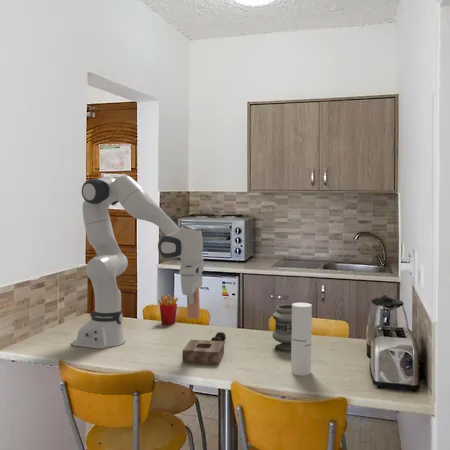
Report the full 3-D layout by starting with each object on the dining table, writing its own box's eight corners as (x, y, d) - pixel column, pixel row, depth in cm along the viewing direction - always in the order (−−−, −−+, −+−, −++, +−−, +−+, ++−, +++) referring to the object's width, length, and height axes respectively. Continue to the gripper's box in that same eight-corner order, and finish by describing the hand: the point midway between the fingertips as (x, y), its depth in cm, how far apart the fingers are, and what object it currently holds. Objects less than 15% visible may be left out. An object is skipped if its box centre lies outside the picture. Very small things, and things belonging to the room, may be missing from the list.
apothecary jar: (266, 348, 208) (266, 306, 207) (283, 342, 217) (284, 301, 215) (290, 355, 200) (290, 311, 198) (306, 348, 208) (307, 306, 207)
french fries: (165, 321, 250) (165, 292, 249) (180, 323, 247) (180, 293, 246) (156, 325, 242) (156, 295, 241) (171, 327, 239) (171, 297, 238)
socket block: (182, 363, 189) (182, 350, 189) (190, 351, 203) (190, 339, 203) (218, 365, 187) (218, 352, 187) (224, 353, 201) (224, 341, 201)
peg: (187, 318, 193) (186, 288, 192) (190, 316, 197) (189, 286, 196) (197, 318, 192) (196, 288, 191) (199, 316, 196) (198, 286, 195)
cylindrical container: (289, 368, 184) (290, 302, 182) (307, 368, 184) (309, 302, 183) (293, 375, 177) (294, 307, 175) (312, 375, 177) (314, 306, 176)
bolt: (223, 343, 221) (217, 353, 206) (214, 337, 221) (207, 346, 207) (230, 332, 220) (224, 341, 205) (220, 326, 221) (213, 335, 206)
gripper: (190, 263, 204) (191, 296, 205) (177, 271, 184) (178, 307, 185) (205, 263, 203) (206, 296, 204) (194, 271, 183) (195, 307, 184)
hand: (193, 302), depth 194 cm, fingers closed on peg, 4 cm apart
